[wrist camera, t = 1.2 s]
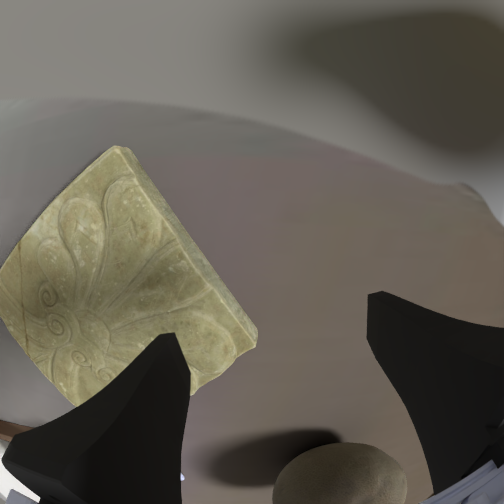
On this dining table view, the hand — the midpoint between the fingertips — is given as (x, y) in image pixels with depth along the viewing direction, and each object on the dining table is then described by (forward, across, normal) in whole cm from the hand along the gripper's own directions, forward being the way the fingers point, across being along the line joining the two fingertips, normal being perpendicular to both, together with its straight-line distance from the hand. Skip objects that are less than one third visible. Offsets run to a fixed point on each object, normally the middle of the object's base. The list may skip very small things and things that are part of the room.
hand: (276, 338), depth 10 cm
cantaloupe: (+10, -4, +27) cm, 29 cm away
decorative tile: (+12, +13, +3) cm, 18 cm away
